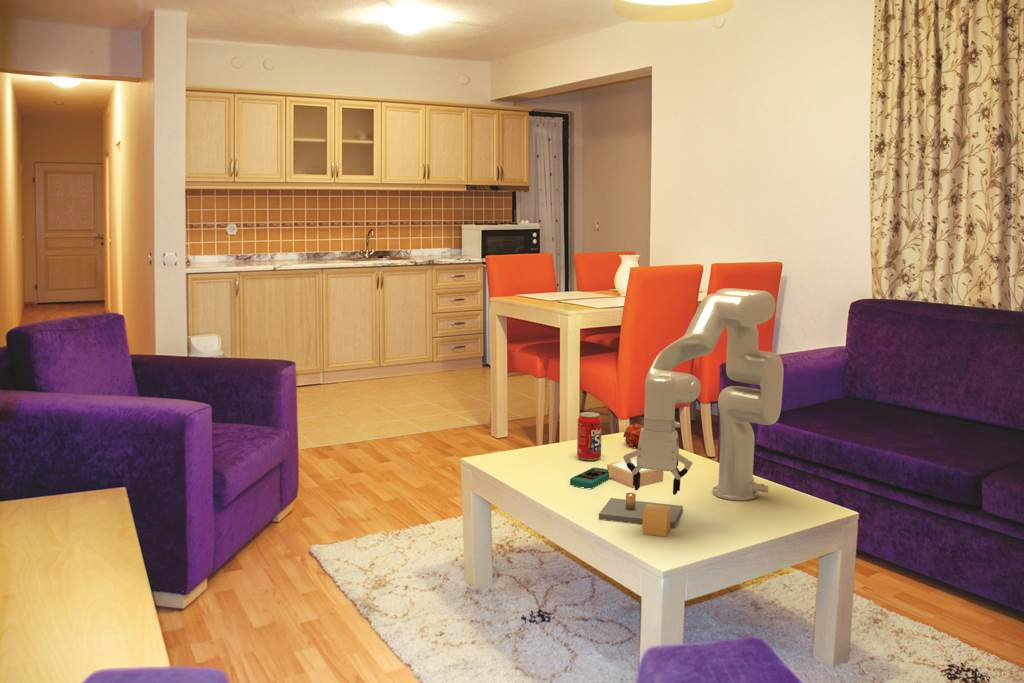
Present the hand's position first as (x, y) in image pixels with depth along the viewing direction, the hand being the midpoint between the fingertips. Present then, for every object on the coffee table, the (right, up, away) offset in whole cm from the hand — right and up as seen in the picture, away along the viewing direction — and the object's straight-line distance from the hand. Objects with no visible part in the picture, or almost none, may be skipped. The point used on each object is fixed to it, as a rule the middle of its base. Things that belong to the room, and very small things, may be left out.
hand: (656, 491), depth 230 cm
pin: (-5, -7, +15) cm, 17 cm away
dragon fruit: (+7, +1, +84) cm, 85 cm away
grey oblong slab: (-2, -9, +14) cm, 17 cm away
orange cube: (0, -11, +2) cm, 11 cm away
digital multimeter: (-12, -5, +44) cm, 46 cm away
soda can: (-11, -1, +69) cm, 70 cm away
